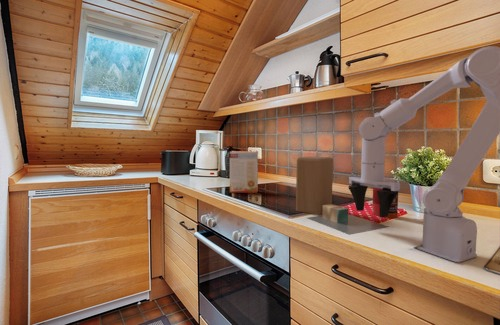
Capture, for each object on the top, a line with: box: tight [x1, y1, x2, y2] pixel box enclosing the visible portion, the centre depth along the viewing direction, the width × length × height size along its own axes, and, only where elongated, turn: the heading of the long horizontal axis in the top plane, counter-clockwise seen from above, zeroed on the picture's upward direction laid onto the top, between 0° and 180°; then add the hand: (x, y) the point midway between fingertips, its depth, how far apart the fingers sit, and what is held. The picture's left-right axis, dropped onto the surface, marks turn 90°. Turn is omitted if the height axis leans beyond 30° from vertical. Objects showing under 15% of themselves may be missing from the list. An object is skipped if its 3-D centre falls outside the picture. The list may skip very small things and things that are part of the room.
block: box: [295, 156, 334, 216], centre depth 97 cm, size 10×10×20 cm
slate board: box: [306, 213, 390, 235], centre depth 83 cm, size 18×16×1 cm
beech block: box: [321, 203, 349, 223], centre depth 86 cm, size 4×4×7 cm
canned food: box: [371, 184, 399, 219], centre depth 92 cm, size 8×8×11 cm
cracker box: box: [229, 150, 259, 194], centre depth 139 cm, size 14×6×21 cm, turn 84°
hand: (371, 213), depth 73 cm, fingers open, 7 cm apart
